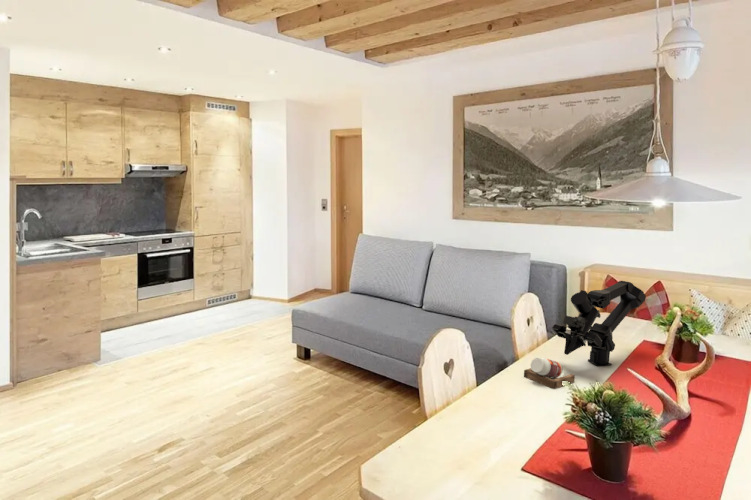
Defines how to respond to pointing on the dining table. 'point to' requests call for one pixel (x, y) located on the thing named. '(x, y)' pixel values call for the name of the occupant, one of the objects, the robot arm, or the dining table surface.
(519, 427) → the dining table surface
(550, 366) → the pill bottle
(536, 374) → the brown wooden tray
